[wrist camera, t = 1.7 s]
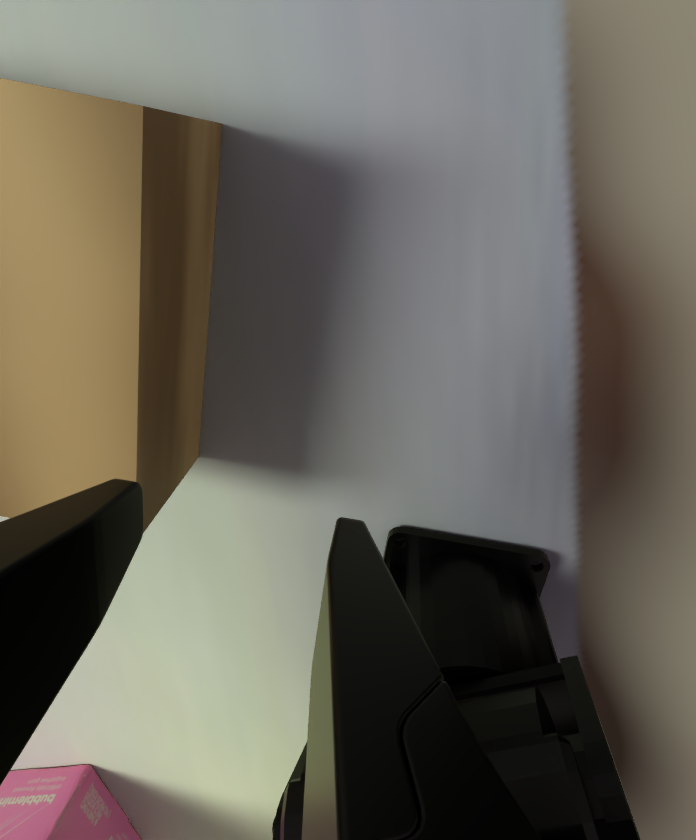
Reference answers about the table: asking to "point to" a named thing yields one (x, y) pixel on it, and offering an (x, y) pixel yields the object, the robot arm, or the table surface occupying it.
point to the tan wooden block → (101, 293)
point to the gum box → (60, 806)
